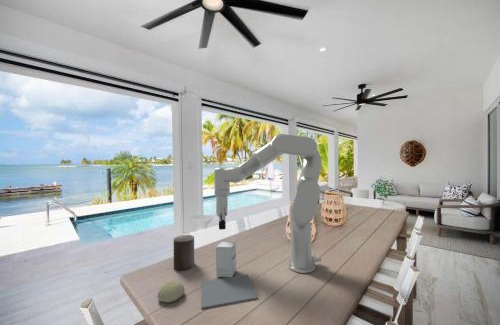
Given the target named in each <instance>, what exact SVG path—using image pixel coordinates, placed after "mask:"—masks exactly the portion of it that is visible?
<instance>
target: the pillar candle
mask: <svg viewBox="0 0 500 325" xmlns="http://www.w3.org/2000/svg"><path fill="white" fill-rule="evenodd" d="M194 267H195V236H194V235H192V234H182V235H177V236H176V237H174V238H173V270H175V271H177V272H185V271H187V270H189V271H190V269H192V268H194Z"/></svg>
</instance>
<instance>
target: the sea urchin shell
mask: <svg viewBox="0 0 500 325" xmlns="http://www.w3.org/2000/svg"><path fill="white" fill-rule="evenodd" d="M184 294H185V286H184V284H183V283H182V282H180V281H179V280H174V281H173V280H172V281H168V282H166V283H163V285H161V286H160V288H159V290H158V292H157V299H158V301H160V302H161V303H162V302H163V303H167V304H168V303H174V302H175V301H177V300H179V299H180V298H181V297H182V296H183V295H184Z"/></svg>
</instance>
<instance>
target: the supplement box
mask: <svg viewBox="0 0 500 325" xmlns="http://www.w3.org/2000/svg"><path fill="white" fill-rule="evenodd" d="M236 246H237V243H236V241H235V242H232V241H222V242H220V243H219V244H218V245H217V246H216V247H215V264H216V265H215V266H216V267H215V269H216V270H215V271H216V274H215V275H216V277H217V278H218V277H219V278H220V277H221V278H227V277H234V274H235V273H236V271H237V248H236Z"/></svg>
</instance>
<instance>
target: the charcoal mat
mask: <svg viewBox="0 0 500 325" xmlns="http://www.w3.org/2000/svg"><path fill="white" fill-rule="evenodd" d="M200 284H201V289H200V291H201V292H200V293H201V296H200V297H201V303H200V304H201V310H203V309H205V310H206V309H210V308H215V307H221V306H227V305H232V304H238V303H242V302H247V301H248V302H249V301H254V300H259V296H258V294H257V291H256V290H255V286H254V284H253V282H252V280H251V278H250V276H249V274H243V275H241V274H240V275H235V276H234V275H233V277H221V278H215V279H209V280H202V281H201V283H200Z"/></svg>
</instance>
